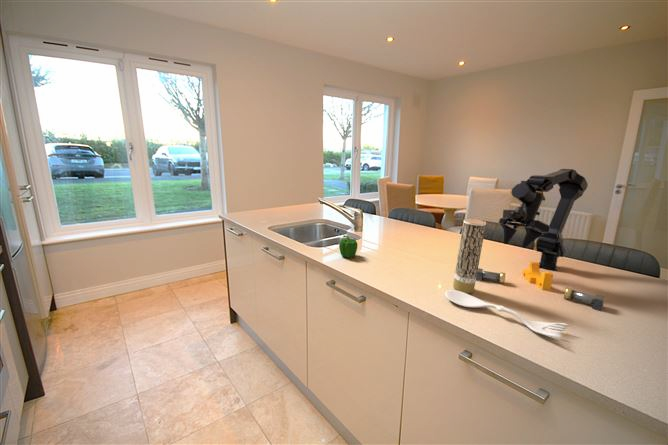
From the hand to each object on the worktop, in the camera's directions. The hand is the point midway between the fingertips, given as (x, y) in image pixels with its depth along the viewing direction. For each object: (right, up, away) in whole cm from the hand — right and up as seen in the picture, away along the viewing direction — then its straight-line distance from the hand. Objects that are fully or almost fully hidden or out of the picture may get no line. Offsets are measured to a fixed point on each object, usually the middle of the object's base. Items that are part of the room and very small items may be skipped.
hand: (513, 245), depth 111 cm
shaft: (+13, -17, -16) cm, 27 cm away
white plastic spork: (-19, -19, -24) cm, 36 cm away
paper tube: (-22, -15, -7) cm, 28 cm away
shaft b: (-9, -13, +1) cm, 16 cm away
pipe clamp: (+8, -14, -1) cm, 16 cm away
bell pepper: (-62, -7, +26) cm, 67 cm away
